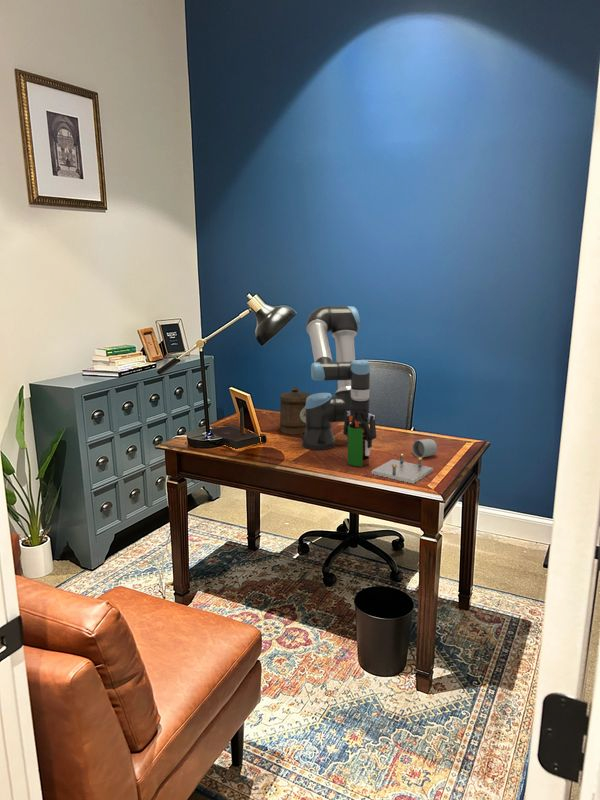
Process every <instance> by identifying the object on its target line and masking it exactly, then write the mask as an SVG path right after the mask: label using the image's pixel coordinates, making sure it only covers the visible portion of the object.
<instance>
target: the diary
mask: <svg viewBox="0 0 600 800" xmlns="http://www.w3.org/2000/svg"><path fill="white" fill-rule="evenodd" d="M209 429H210V430H211V433H212V434H213V435H216V436H219V437H222V438H223V440H222V441H223V443H224V445H226V446H228V447H232V448H235V449H238V448H241V447H244V446H248V445H252V444H257V443H260V438H259V437H261V442H262V443H263V442H265V443H264V444H266V443H267V441H268V437H267V434H263V433H260V436H258V435H256V434H254V433H248V432H247V433H246V434H245V435H244V436H241V435H240V426H237V425H234V424H229V425H224V426H218V427H214V428H213V427H212V428H209ZM203 433H206V432H205V430H203Z"/></svg>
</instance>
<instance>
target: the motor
mask: <svg viewBox="0 0 600 800" xmlns="http://www.w3.org/2000/svg"><path fill="white" fill-rule="evenodd" d="M352 418H353V416H352V415H350V416H349V421H352ZM354 422H355V428H351V427H350V425H351V423H350V424H349V425H348V443H347V464H348V465H349V466H353V467H363V466H368V465H369V464H370V455H368V456H365V440H367V438H366V435H365V431H364V428H363V425H362V424H361V422H359V421H356V420H355V421H354Z"/></svg>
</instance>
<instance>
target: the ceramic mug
mask: <svg viewBox="0 0 600 800" xmlns="http://www.w3.org/2000/svg"><path fill="white" fill-rule="evenodd" d="M411 451H412V453H413V455H414V456H415V457H416V458H418V457H422V459H424V458H427V457H432V456H435V454H436V453H437V452H438V444H437V442H436V440H434V439H432V438H424V439H417V440H415V441H414V442H413V444H412V449H411Z"/></svg>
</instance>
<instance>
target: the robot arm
mask: <svg viewBox="0 0 600 800" xmlns="http://www.w3.org/2000/svg"><path fill="white" fill-rule="evenodd" d="M360 323H361V319H360V314H359V311H358V309H357V307H355V306H349V305H343V306H342V305H341V306H340V305H339V306H336V305H334V306H327V305H326V306H325V305H324V306H320V307H318V308H315V310H313V311H312V312H311V313H310V314H309V316H308V317H307V320H306V324H305V329H306V333H307V335H309V339H310V345H311V349H312V355H313V361H314V362H312V363H311V365H310V374H311V375H310V376H311V380H312V381H317V382H319V381H320V382H325V381H327V382H328V381H337V390H336V391H335V392H334V396H333V395H332V393H330V392H317V393H313V394H310V396H308V397H307V399H306V406H305V409H306V429H305V432H304V434H302V438H301V446H302V447H304V448H305V449H310V450H319V451H320V450H327V449H329V450H330V449H331V448H334V447H335V446H336V439H335V436H334V432H333V430H332V423H344V424H343V430H342V431H343V433H342V434H343V435H345V436H346V437H347V440H346V441H347V444H348V425H349V424H351V425H350V427H351V428H355V422H354V421H355V420H356V421H358V423H361V424H362V425H363V428H364V431H365V435H366V438H367V440H365V456H370V455H371V448H372V446H373V441H374V440H375V439H377V429H376V428H377V427H376V419H377V415H376V414H372V413H370V385H371V384H370V383H371V382H370V378H371V377H370V376H371V375H370V373H371V363H370V361H368V360H365V359H356V352H355V337H356V336H357V335H358V331H360V329H361V324H360ZM328 332H330V333H331V337H332V338H334V341H335V355H336V357H335V358H336V361H333V358H332V357H333V356H332V353H331V348H330V342H329V338H328V335H327V333H328ZM350 415H352V416H353V418H352V421H349V416H350ZM372 440H373V441H372Z"/></svg>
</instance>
